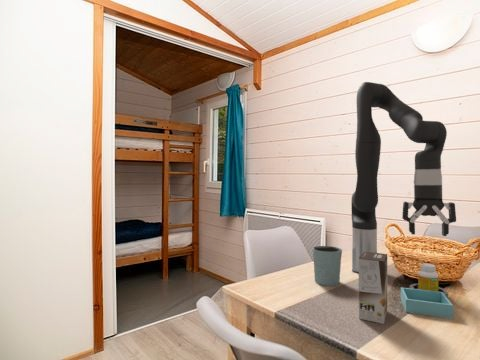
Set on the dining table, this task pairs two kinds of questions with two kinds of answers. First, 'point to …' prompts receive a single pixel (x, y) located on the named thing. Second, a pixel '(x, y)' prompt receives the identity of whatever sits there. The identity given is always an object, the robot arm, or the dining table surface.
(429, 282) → the supplement bottle
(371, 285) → the coffee box
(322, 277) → the teal cup
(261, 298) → the dining table surface
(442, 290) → the holder
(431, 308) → the tray
